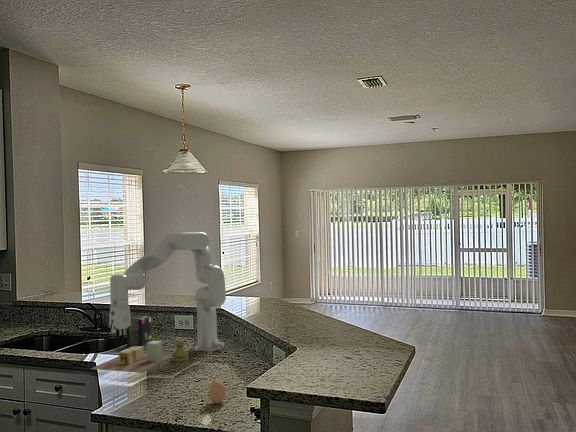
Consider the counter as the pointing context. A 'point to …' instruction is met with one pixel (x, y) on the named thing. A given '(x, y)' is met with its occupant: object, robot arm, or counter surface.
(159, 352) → the sage block
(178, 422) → the counter surface
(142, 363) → the walnut board
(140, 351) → the maple block
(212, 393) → the egg
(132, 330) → the tampon box
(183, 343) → the olive tiered piece
